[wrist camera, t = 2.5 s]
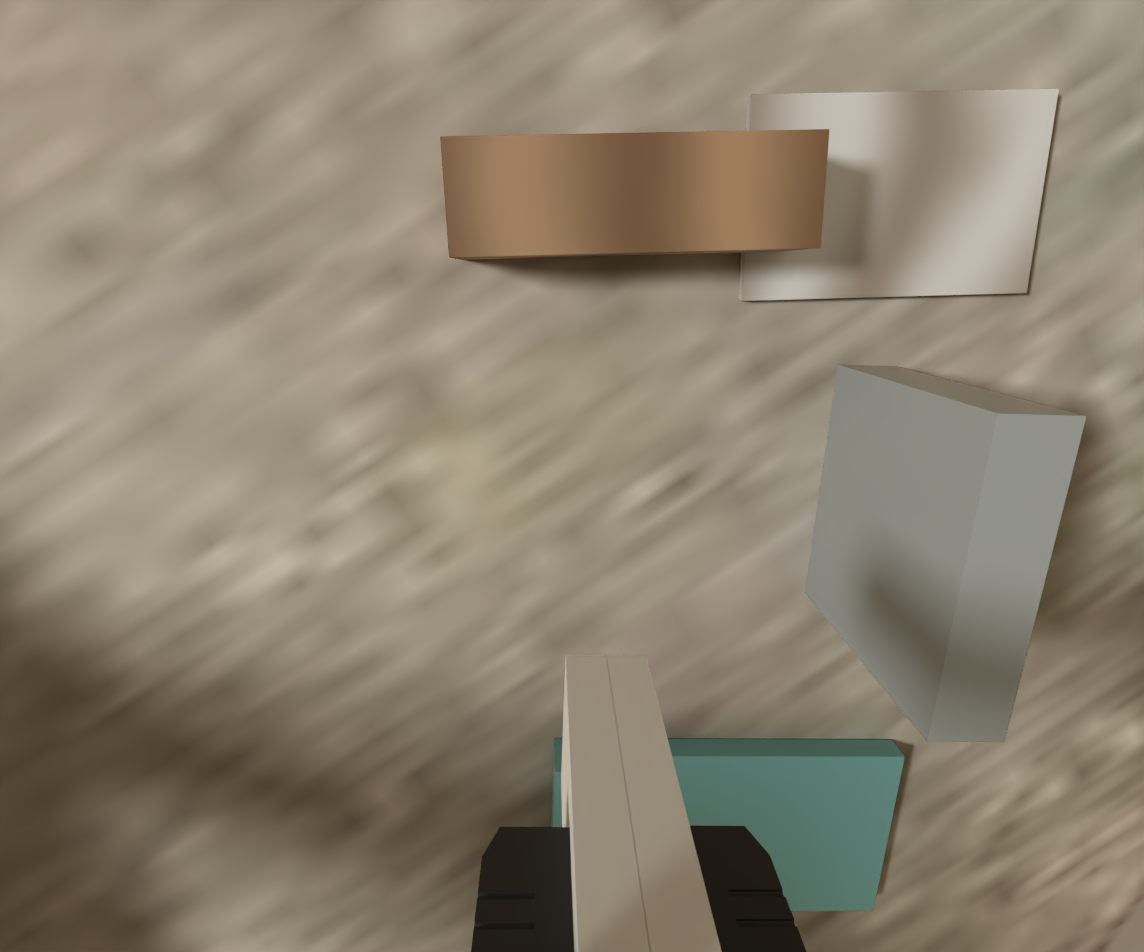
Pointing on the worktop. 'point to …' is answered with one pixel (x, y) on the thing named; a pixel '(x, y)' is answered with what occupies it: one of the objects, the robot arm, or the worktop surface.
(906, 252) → the turner
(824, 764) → the rest
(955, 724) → the tile
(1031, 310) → the worktop surface
